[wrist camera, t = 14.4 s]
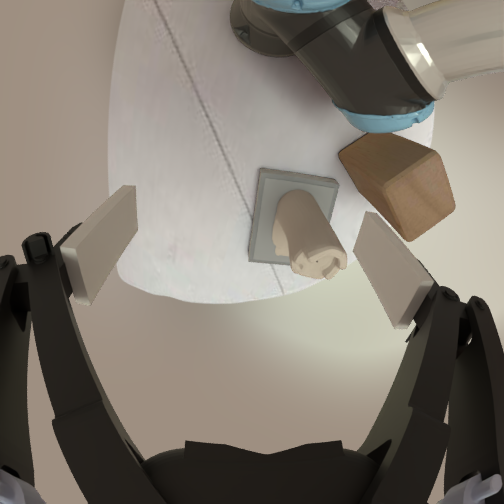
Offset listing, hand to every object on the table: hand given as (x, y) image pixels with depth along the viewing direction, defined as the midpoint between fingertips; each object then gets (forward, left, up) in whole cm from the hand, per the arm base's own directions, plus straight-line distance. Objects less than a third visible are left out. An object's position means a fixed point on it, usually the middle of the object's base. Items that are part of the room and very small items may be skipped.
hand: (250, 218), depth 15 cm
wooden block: (+1, +23, -35) cm, 42 cm away
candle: (+15, +10, -32) cm, 36 cm away
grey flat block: (+15, +10, -35) cm, 39 cm away
